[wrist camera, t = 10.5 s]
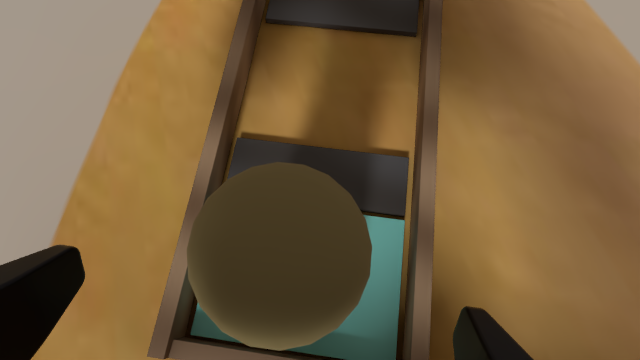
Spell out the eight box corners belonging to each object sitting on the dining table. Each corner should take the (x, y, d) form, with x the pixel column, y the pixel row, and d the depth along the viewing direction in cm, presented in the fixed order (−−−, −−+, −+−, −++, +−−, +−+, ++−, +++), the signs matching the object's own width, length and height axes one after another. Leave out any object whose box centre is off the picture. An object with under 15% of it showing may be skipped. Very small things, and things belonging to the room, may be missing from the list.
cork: (318, 364, 18) (302, 444, 7) (223, 292, 19) (97, 275, 9) (381, 260, 19) (441, 208, 9) (290, 200, 21) (250, 92, 10)
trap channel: (416, 392, 18) (427, 402, 16) (165, 351, 19) (147, 356, 17) (436, -19, 26) (444, -44, 24) (263, -33, 27) (258, -59, 25)
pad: (393, 366, 18) (395, 367, 18) (192, 334, 19) (190, 334, 18) (403, 222, 20) (404, 220, 20) (225, 198, 21) (222, 196, 21)
